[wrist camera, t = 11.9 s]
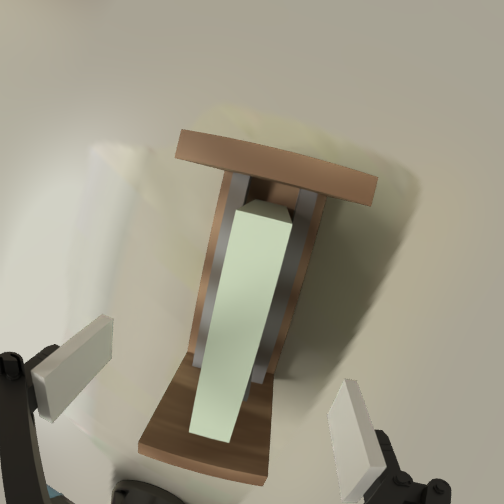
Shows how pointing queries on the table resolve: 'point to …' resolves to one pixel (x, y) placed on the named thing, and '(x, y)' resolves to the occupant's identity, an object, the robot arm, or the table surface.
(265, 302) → the door panel
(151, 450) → the wooden rail bracket
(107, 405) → the table surface
